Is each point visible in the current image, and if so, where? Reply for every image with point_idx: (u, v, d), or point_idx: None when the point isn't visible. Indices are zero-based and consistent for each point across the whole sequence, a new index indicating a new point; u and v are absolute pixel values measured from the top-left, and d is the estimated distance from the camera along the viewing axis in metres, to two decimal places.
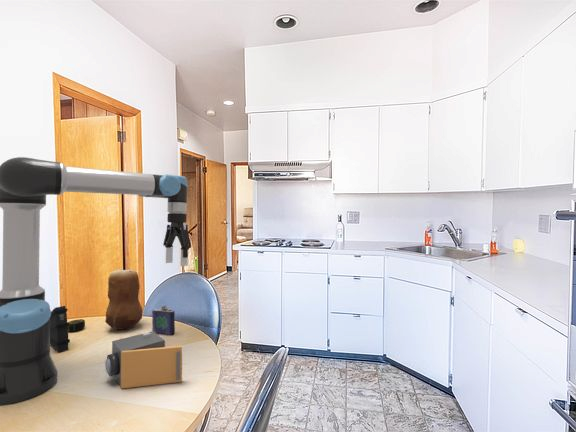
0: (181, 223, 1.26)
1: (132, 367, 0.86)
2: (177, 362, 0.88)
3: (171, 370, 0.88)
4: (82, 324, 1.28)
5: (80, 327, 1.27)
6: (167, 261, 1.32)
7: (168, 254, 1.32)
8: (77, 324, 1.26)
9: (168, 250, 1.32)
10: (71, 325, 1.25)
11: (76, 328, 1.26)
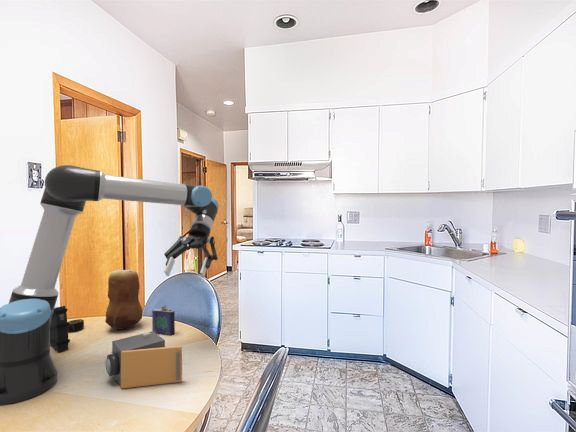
0: (207, 237, 1.19)
1: (132, 367, 0.86)
2: (177, 362, 0.88)
3: (171, 370, 0.88)
4: (81, 324, 1.28)
5: (79, 327, 1.27)
6: (167, 270, 1.08)
7: (170, 264, 1.10)
8: (76, 324, 1.26)
9: (172, 260, 1.11)
10: (70, 325, 1.25)
11: (75, 328, 1.26)
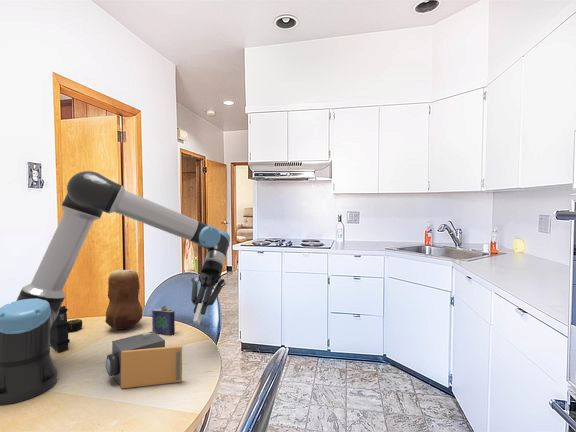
0: (220, 274, 1.17)
1: (132, 367, 0.86)
2: (177, 362, 0.88)
3: (171, 370, 0.88)
4: (79, 324, 1.28)
5: (77, 327, 1.27)
6: None
7: None
8: (74, 324, 1.26)
9: None
10: None
11: (73, 328, 1.26)
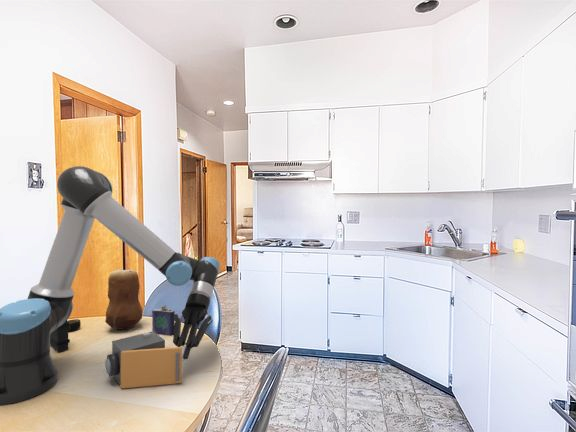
0: (206, 309, 1.03)
1: (132, 367, 0.86)
2: (176, 363, 0.87)
3: (170, 371, 0.88)
4: (78, 324, 1.28)
5: (76, 327, 1.27)
6: None
7: None
8: (72, 324, 1.26)
9: None
10: None
11: (71, 328, 1.26)
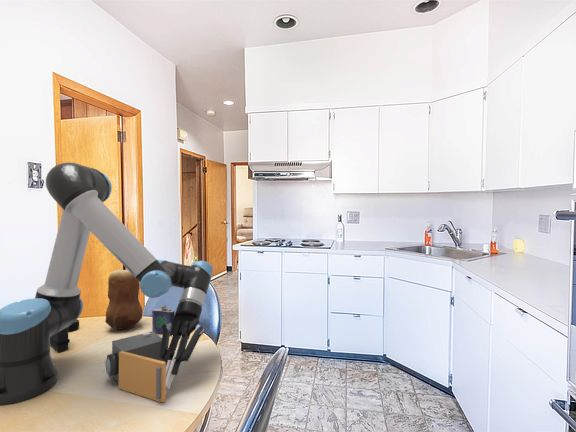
0: (198, 319, 0.95)
1: (126, 370, 0.84)
2: (157, 379, 0.79)
3: (154, 386, 0.80)
4: (76, 324, 1.28)
5: (74, 327, 1.27)
6: None
7: None
8: (71, 324, 1.26)
9: None
10: None
11: (70, 328, 1.26)
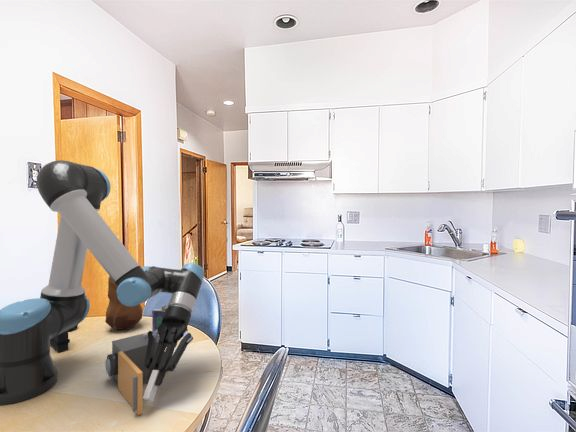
0: (186, 325, 0.89)
1: (121, 372, 0.83)
2: (133, 389, 0.74)
3: None
4: None
5: (73, 327, 1.27)
6: None
7: None
8: None
9: None
10: None
11: None
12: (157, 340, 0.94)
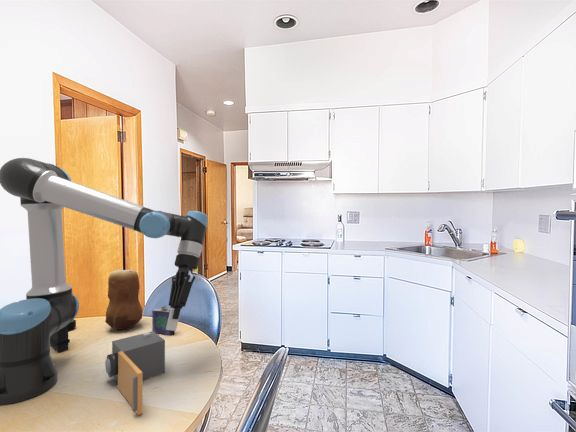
0: (190, 267, 0.99)
1: (121, 372, 0.83)
2: (132, 389, 0.74)
3: None
4: (73, 324, 1.28)
5: (71, 327, 1.27)
6: None
7: None
8: None
9: None
10: None
11: None
12: (157, 340, 0.94)
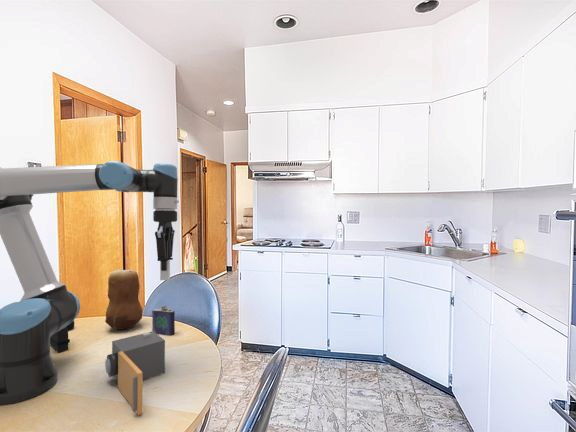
0: (161, 223, 1.01)
1: (121, 372, 0.83)
2: (132, 389, 0.74)
3: None
4: (71, 324, 1.28)
5: (69, 327, 1.27)
6: None
7: None
8: None
9: None
10: None
11: None
12: (157, 340, 0.94)
